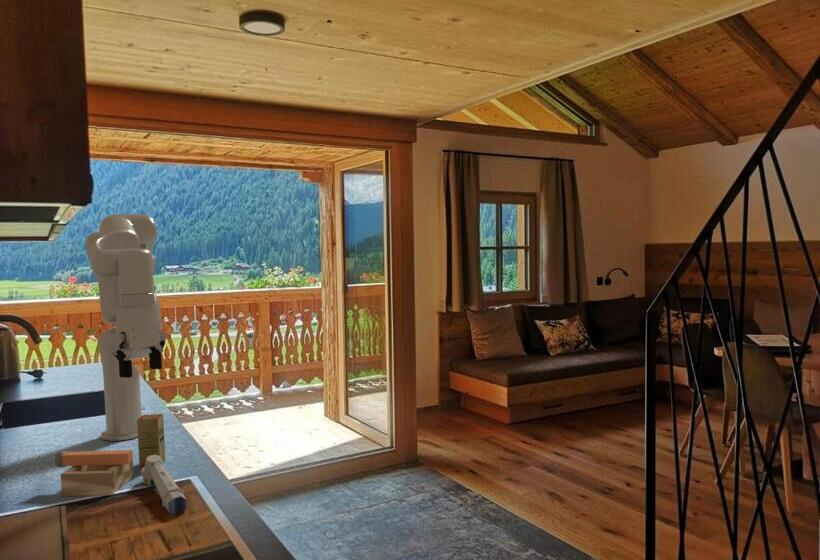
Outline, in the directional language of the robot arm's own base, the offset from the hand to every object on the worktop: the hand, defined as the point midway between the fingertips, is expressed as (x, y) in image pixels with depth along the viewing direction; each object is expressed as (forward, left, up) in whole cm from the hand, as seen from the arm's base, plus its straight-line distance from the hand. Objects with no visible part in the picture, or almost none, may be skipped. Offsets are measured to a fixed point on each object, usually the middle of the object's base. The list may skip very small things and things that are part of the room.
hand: (141, 372), depth 148 cm
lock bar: (+6, -9, -20) cm, 23 cm away
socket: (+6, -8, -25) cm, 27 cm away
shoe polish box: (-8, -2, -25) cm, 26 cm away
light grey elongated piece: (+13, +9, -25) cm, 30 cm away
